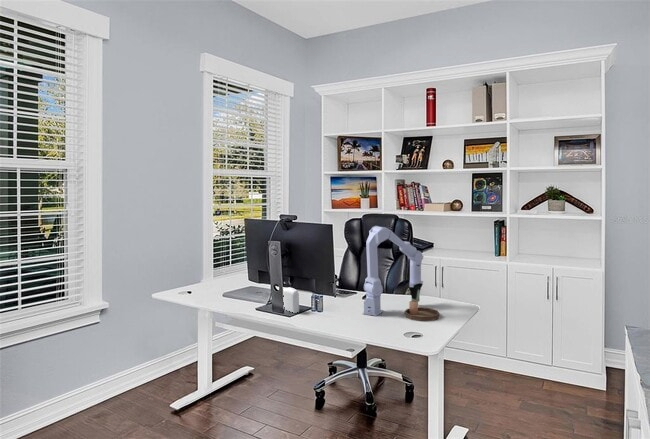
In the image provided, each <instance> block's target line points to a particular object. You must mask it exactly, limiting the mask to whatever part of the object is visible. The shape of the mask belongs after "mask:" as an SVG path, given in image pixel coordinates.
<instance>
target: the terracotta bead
mask: <svg viewBox="0 0 650 439" xmlns="http://www.w3.org/2000/svg"><path fill="white" fill-rule="evenodd" d="M408 304H409V308H408V309H409V312H410V315H418V307H419V302H417V301H409V303H408Z"/></svg>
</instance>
